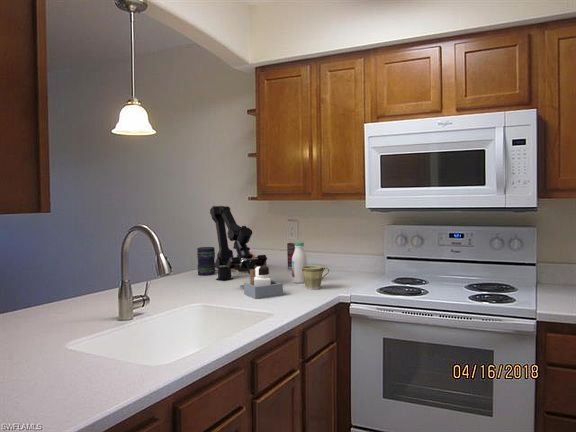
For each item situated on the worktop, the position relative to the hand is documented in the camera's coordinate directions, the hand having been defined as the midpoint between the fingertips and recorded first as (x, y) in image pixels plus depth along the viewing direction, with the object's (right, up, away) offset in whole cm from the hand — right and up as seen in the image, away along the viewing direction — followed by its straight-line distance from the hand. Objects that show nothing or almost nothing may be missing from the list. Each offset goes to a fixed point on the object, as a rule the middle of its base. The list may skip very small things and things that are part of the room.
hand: (253, 276), depth 209 cm
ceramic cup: (+29, -6, +4) cm, 30 cm away
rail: (-4, -7, +7) cm, 10 cm away
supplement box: (+20, -4, +56) cm, 60 cm away
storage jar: (-30, -5, +47) cm, 56 cm away
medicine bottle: (+5, -7, -6) cm, 11 cm away
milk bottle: (+22, -6, +20) cm, 30 cm away
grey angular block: (+5, -7, -8) cm, 12 cm away
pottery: (-9, -5, +62) cm, 63 cm away
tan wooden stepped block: (+1, -7, -1) cm, 7 cm away
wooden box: (-9, -4, +63) cm, 64 cm away
